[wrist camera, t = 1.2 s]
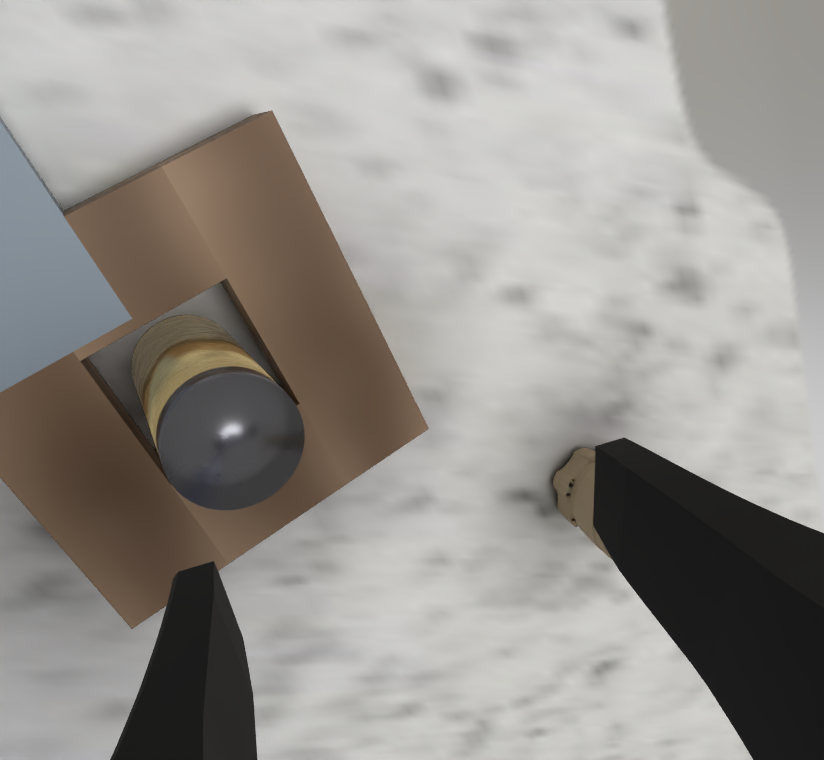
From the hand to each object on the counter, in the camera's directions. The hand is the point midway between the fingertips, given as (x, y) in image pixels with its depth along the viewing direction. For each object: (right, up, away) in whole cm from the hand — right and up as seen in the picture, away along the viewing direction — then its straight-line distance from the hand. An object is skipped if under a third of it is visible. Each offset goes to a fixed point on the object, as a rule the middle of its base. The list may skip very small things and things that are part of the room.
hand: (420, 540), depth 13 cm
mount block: (-7, +3, +9) cm, 12 cm away
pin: (-7, +3, +9) cm, 12 cm away
